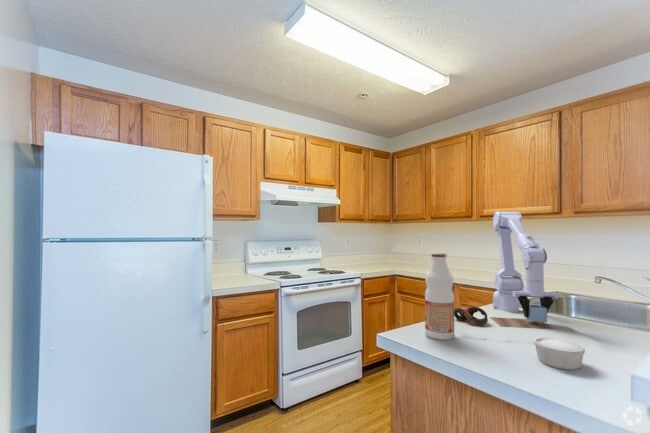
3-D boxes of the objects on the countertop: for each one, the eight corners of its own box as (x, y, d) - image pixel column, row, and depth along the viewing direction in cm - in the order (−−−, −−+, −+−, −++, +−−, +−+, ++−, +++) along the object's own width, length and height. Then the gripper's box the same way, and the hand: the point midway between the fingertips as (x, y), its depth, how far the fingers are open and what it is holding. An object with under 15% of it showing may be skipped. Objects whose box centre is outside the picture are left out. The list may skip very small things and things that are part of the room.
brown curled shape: (484, 324, 124) (490, 308, 120) (482, 342, 116) (489, 326, 112) (452, 313, 128) (456, 297, 124) (448, 329, 121) (453, 313, 117)
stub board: (500, 330, 115) (500, 316, 115) (489, 321, 126) (489, 308, 127) (556, 333, 112) (555, 319, 112) (539, 323, 124) (538, 310, 124)
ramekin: (537, 351, 95) (536, 334, 96) (585, 362, 88) (584, 342, 89) (531, 364, 87) (531, 344, 87) (584, 376, 80) (584, 355, 80)
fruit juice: (437, 342, 103) (437, 255, 104) (419, 332, 112) (419, 252, 113) (460, 338, 106) (459, 254, 107) (441, 330, 115) (440, 252, 116)
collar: (530, 321, 116) (530, 307, 116) (524, 317, 121) (523, 304, 122) (547, 322, 115) (546, 308, 115) (539, 318, 121) (539, 304, 121)
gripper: (517, 281, 116) (518, 319, 116) (562, 282, 114) (562, 321, 113) (510, 278, 123) (510, 313, 123) (551, 279, 121) (552, 315, 120)
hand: (535, 317), depth 118 cm, fingers closed on collar, 5 cm apart
